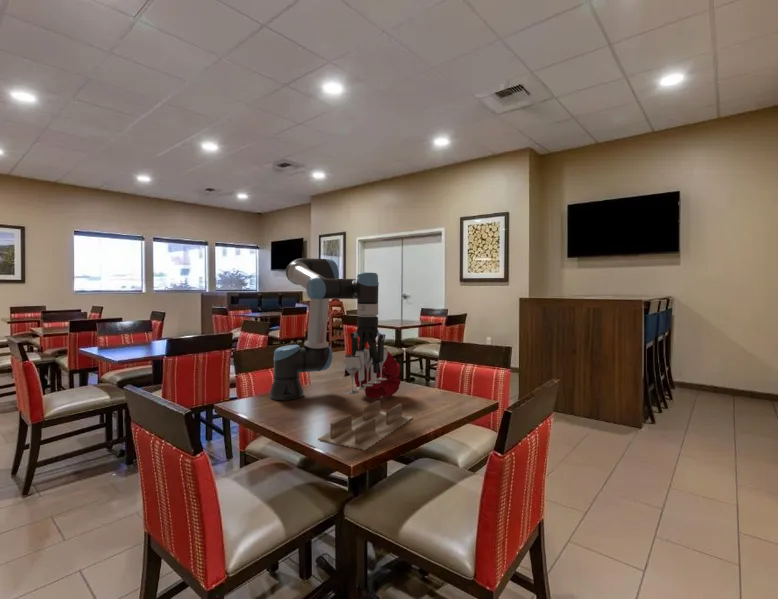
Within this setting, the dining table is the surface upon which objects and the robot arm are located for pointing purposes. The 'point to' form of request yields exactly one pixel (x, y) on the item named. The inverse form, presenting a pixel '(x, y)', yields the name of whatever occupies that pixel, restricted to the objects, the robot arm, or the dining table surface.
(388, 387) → the bouquet
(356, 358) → the goblet set
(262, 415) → the dining table surface
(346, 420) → the glass rack
